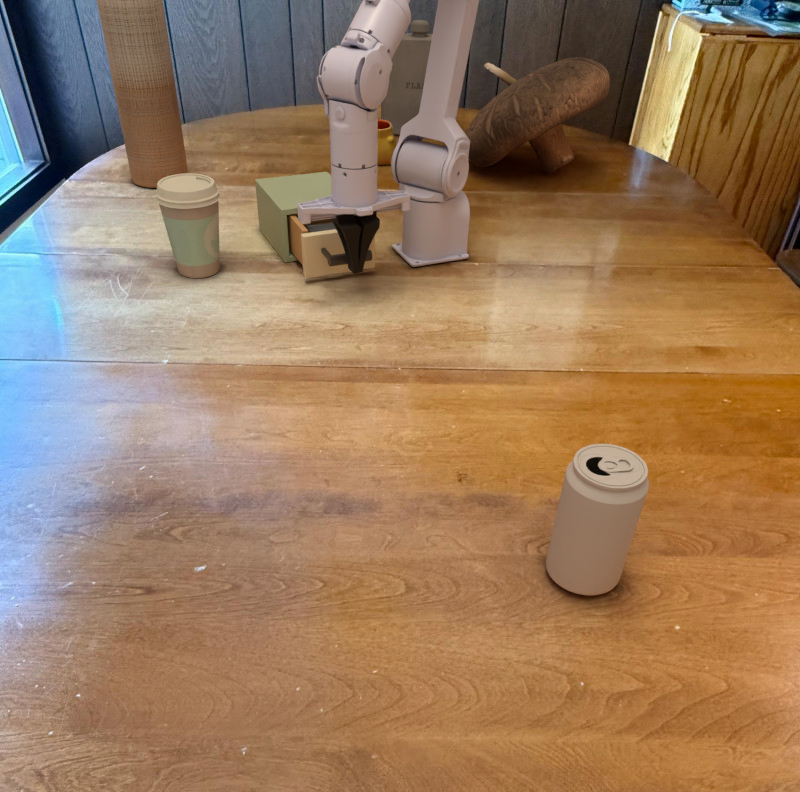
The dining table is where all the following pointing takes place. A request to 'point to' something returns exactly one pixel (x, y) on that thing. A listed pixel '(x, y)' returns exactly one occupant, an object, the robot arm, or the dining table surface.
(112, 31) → the vase
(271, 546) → the dining table surface
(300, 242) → the drawer
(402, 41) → the flask
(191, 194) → the coffee cup
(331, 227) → the open box
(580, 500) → the beverage can
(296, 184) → the cabinet
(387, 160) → the mug
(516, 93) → the brown fungus
